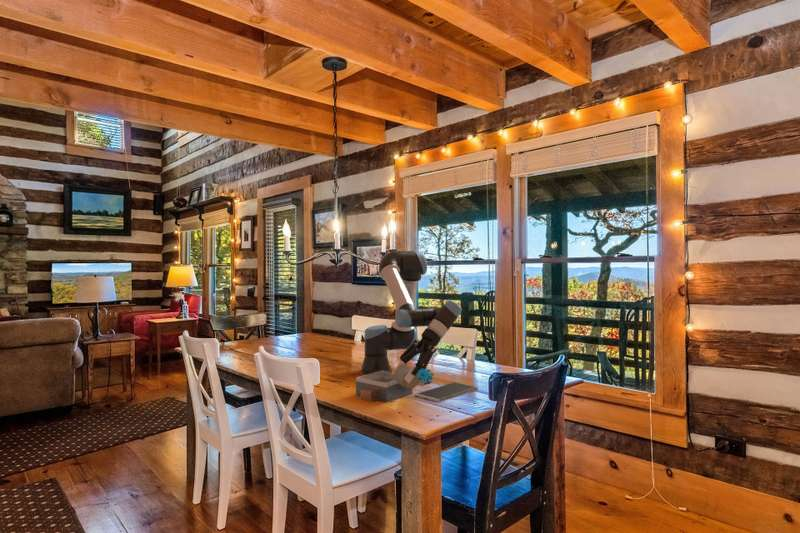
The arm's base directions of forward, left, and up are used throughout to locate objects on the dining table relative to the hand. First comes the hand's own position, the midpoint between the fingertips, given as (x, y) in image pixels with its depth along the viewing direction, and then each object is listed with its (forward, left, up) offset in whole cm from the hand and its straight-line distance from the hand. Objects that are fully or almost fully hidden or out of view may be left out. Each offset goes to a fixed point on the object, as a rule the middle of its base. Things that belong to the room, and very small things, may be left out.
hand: (400, 378), depth 181 cm
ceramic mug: (+1, +5, -4) cm, 6 cm away
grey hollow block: (-17, +9, -11) cm, 22 cm away
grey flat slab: (+3, +28, -12) cm, 31 cm away
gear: (-16, +37, -12) cm, 41 cm away
